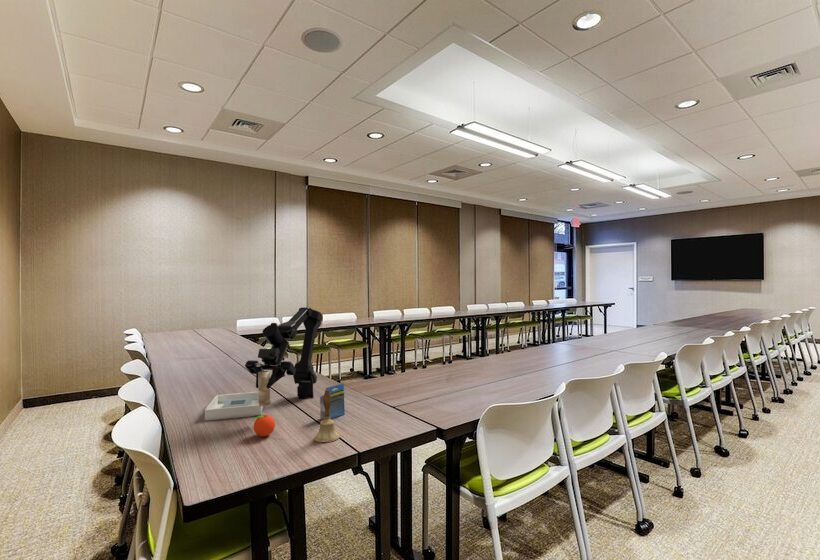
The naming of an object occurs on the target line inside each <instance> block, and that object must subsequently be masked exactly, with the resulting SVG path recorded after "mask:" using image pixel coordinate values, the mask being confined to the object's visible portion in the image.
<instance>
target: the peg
mask: <svg viewBox="0 0 820 560" xmlns="http://www.w3.org/2000/svg"><path fill="white" fill-rule="evenodd" d="M270 373H271V370H264V371H261V372H258V388H257V389H258V391H257V392H259V406H264V407H268V406H270V405H271V387H270V388H269V389H267V384H268V381H269V379H270V377H271V374H270Z"/></svg>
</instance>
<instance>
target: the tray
mask: <svg viewBox="0 0 820 560" xmlns="http://www.w3.org/2000/svg"><path fill="white" fill-rule="evenodd" d="M264 407H265V406H259V391H251V392H250V391H249V392H238V393H228V394H227V393H226V394H217V395H215V397H214V398H213V399H212V400H211V402H210V403H209V404H208V405H207V406H206V408H205V409H204V421H205V422H207V421H216V420H217V421H218V420H226V419H235V418H238V419H239V418H246V417H258V416H262V414H263V411H264Z"/></svg>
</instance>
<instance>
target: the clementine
mask: <svg viewBox="0 0 820 560" xmlns="http://www.w3.org/2000/svg"><path fill="white" fill-rule="evenodd" d="M254 420H255V421H254ZM252 421H254V423H253V431H254V433H255V434H256V435H257V436H259V437H267V436H269V435H271V434H272V433H273V432H274V430H275V428H276V422H275V419H274V418H273V416H271V415H269V414H263V415H262V414H261V415H258V416H255V417H254V418H253V419H252V420H251V422H249V423H250V425H251V423H252Z"/></svg>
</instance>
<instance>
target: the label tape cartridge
mask: <svg viewBox="0 0 820 560" xmlns="http://www.w3.org/2000/svg"><path fill="white" fill-rule="evenodd" d="M344 388H345V383H344V382H343V383H340V384H336V385H332V386H329V387H325V390H329V392H330V395H331V405H330V409H329V410H330V414H329V415H330V416H329V417H330V419H331V420H333V419H334V418H338V417H341V416H343V415H345V413H346V412H345V389H344ZM334 389H335V390H334ZM323 397H324V395H322V396H320V397H319V404H320V405H319V406H320V407H319V411H320V412H319V413H320V415H319V416H320V420H322V421H323V420H324V417H325V407H324V403H323Z"/></svg>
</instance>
